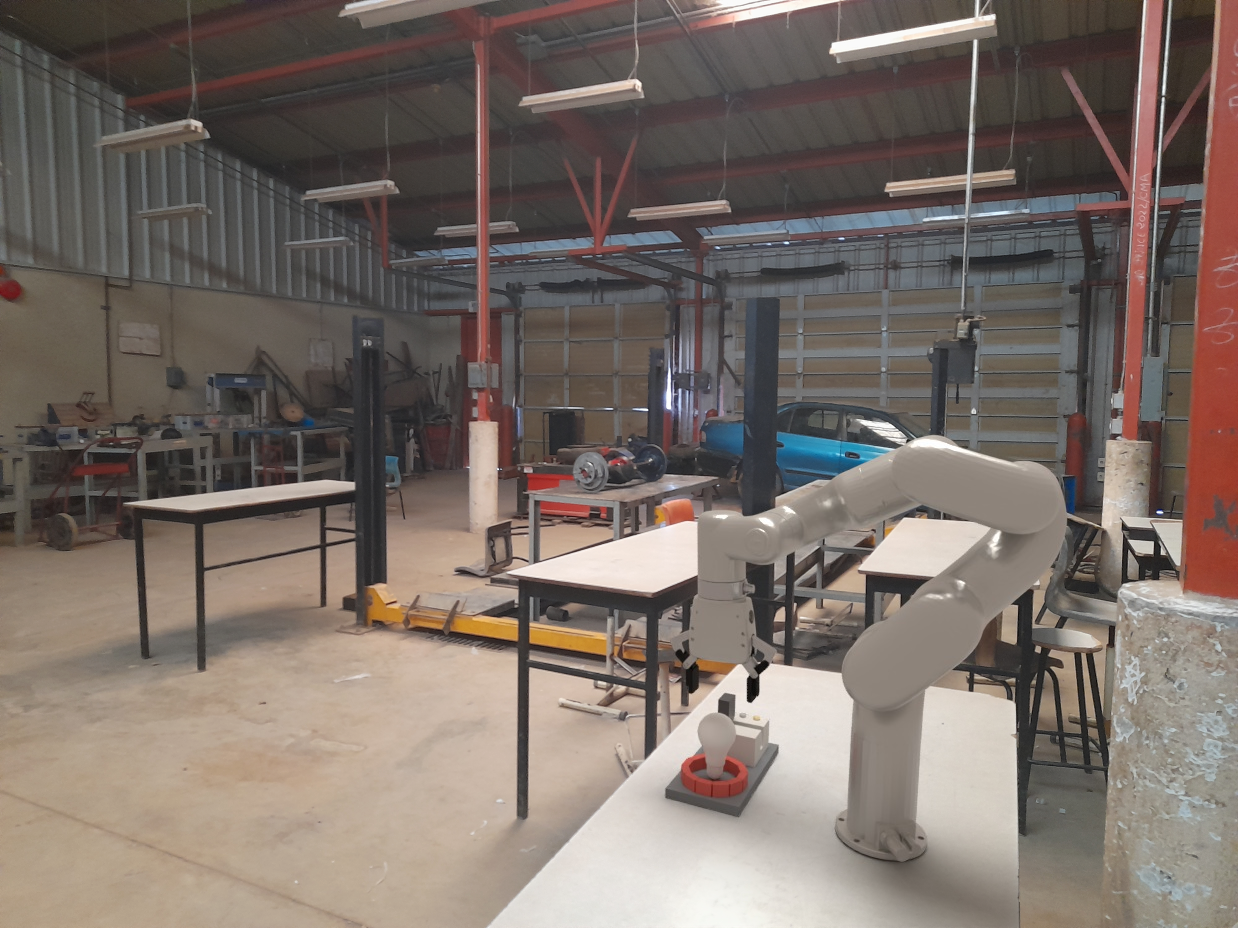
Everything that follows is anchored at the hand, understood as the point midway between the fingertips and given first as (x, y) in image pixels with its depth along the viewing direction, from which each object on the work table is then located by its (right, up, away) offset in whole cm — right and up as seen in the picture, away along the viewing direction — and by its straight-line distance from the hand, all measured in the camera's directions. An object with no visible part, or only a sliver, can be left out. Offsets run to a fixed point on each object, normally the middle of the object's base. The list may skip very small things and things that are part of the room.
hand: (722, 695), depth 124 cm
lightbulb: (-1, -14, +2) cm, 15 cm away
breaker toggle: (+2, -11, +13) cm, 18 cm away
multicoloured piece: (+1, -15, +7) cm, 17 cm away
